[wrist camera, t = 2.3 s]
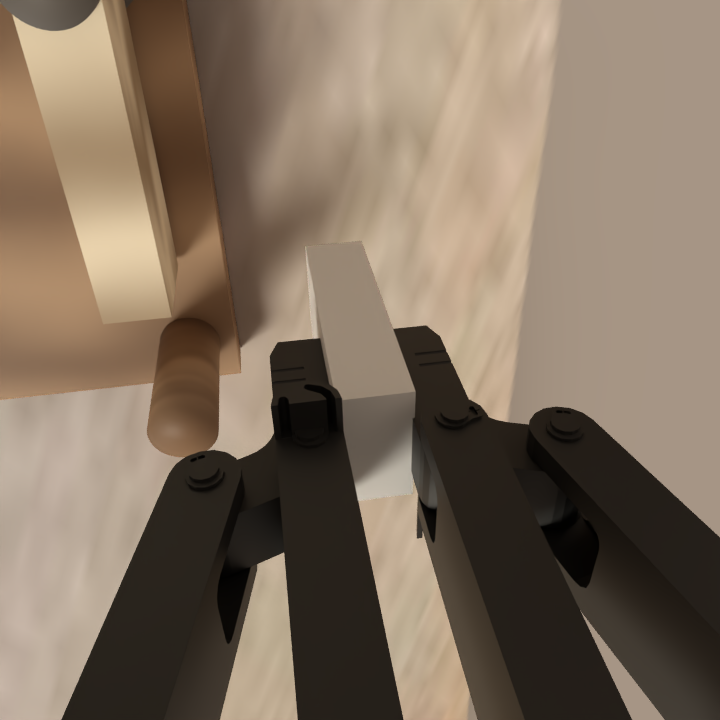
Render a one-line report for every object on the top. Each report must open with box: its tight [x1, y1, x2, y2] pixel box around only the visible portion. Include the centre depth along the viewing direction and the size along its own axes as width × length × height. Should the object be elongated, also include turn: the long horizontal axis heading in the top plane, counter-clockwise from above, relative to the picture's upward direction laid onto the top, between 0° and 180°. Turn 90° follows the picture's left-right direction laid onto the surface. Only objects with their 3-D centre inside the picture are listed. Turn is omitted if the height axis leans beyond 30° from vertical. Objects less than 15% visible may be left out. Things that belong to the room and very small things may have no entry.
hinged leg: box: [0, 0, 178, 324], centre depth 22 cm, size 12×3×5 cm, turn 1°
